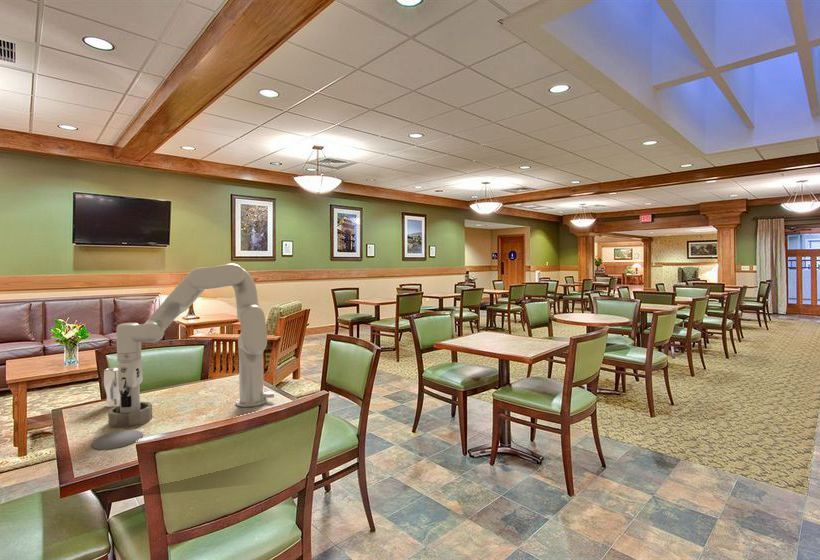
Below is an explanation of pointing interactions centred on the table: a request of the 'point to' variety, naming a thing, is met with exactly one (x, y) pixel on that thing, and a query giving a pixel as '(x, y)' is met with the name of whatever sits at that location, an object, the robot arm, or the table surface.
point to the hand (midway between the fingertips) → (130, 403)
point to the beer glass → (111, 387)
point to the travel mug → (133, 398)
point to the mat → (117, 439)
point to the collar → (130, 416)
